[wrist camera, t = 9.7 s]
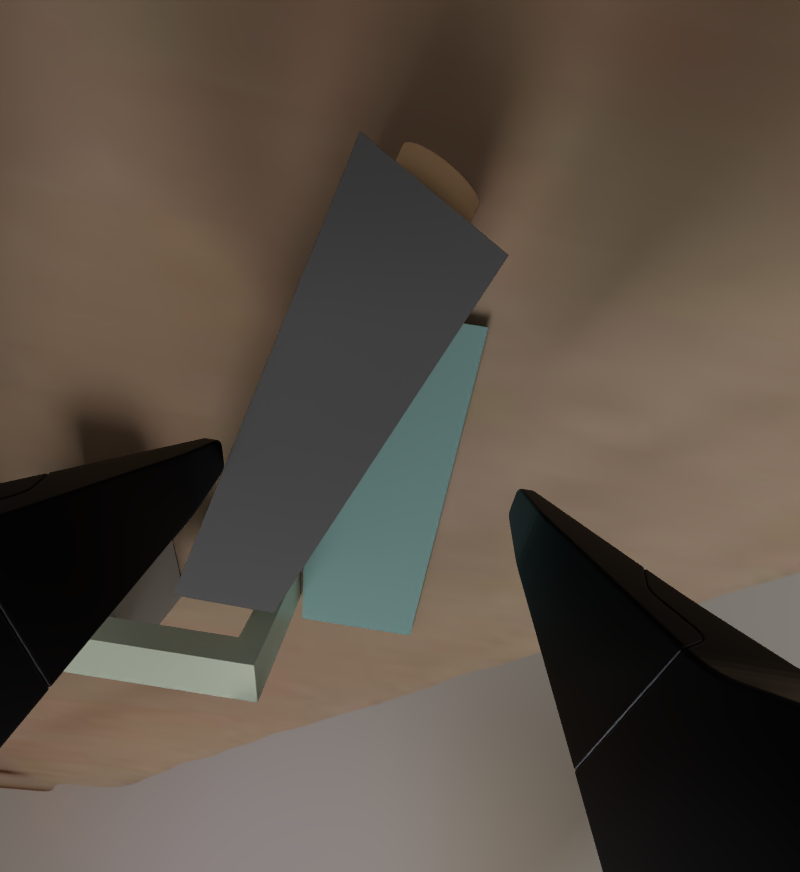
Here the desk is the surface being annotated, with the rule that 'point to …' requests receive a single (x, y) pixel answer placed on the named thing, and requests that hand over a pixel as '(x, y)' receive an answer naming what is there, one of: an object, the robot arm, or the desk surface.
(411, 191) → the dark gray bar
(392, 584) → the mat
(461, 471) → the desk surface
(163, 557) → the block
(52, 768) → the desk surface
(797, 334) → the desk surface
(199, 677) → the light grey piece
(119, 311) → the desk surface
